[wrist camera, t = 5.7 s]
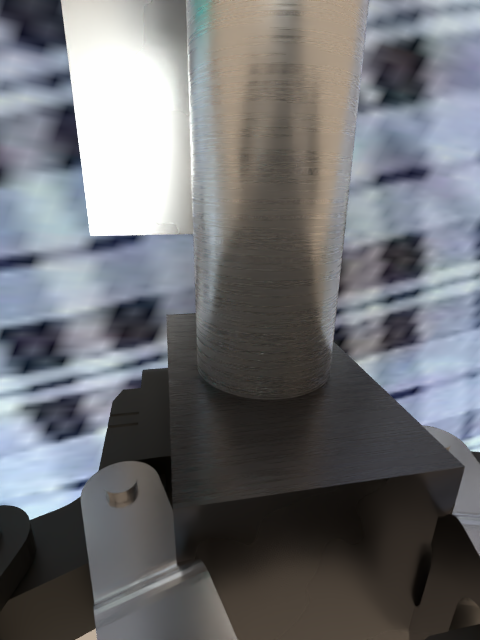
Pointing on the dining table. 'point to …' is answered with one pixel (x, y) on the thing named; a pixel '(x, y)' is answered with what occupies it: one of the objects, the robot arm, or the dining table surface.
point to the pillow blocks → (132, 113)
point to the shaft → (288, 346)
